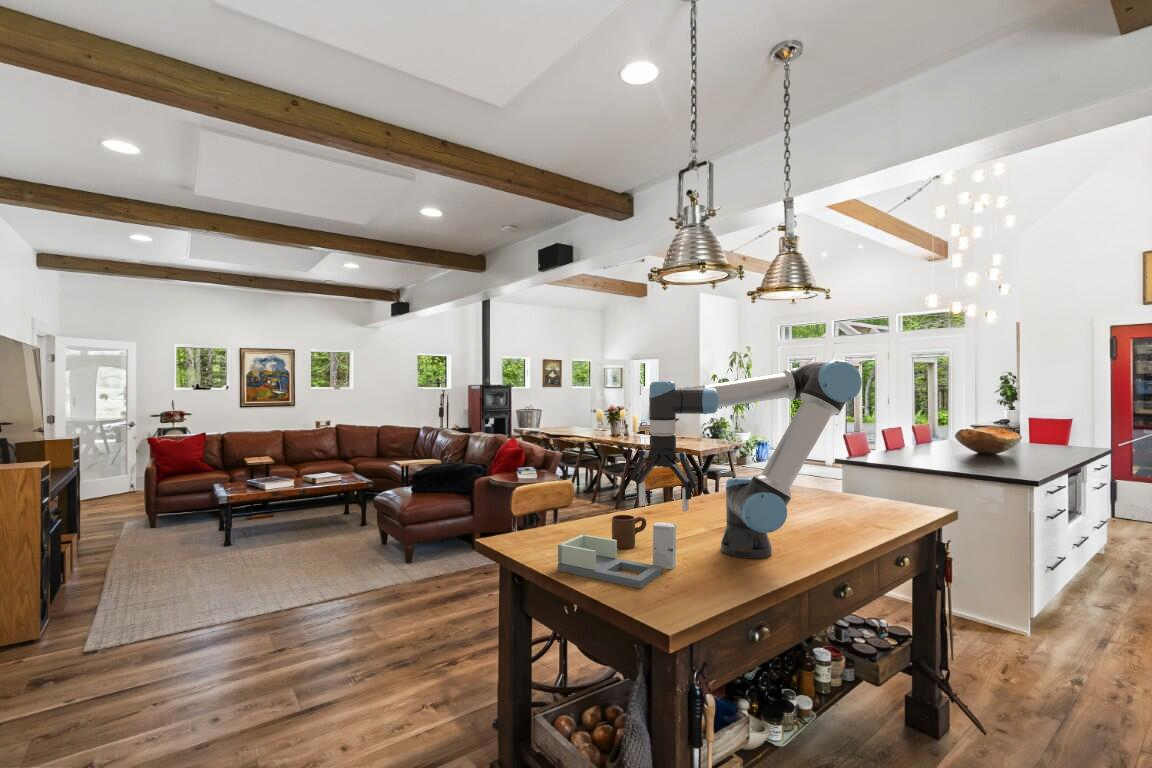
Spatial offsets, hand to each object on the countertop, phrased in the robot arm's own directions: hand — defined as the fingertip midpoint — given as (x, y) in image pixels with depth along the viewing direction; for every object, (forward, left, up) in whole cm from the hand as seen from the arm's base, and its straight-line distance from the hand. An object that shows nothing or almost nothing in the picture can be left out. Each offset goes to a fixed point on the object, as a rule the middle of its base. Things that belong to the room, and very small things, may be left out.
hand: (663, 508), depth 158 cm
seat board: (+11, +13, -17) cm, 24 cm away
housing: (+18, +13, -14) cm, 26 cm away
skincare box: (0, 0, -17) cm, 17 cm away
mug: (+18, -13, -17) cm, 28 cm away
